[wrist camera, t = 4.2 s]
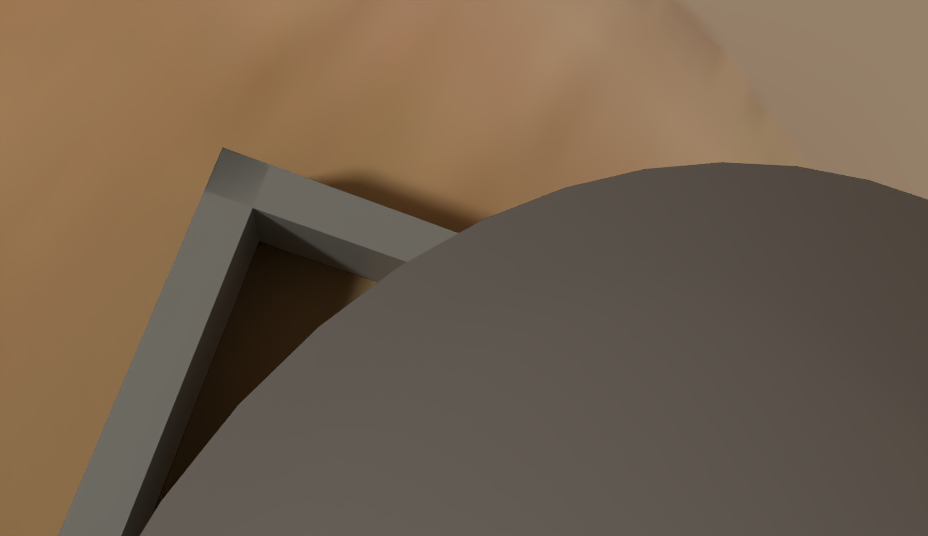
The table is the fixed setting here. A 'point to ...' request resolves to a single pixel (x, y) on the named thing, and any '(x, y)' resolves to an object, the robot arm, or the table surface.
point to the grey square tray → (222, 318)
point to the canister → (607, 375)
